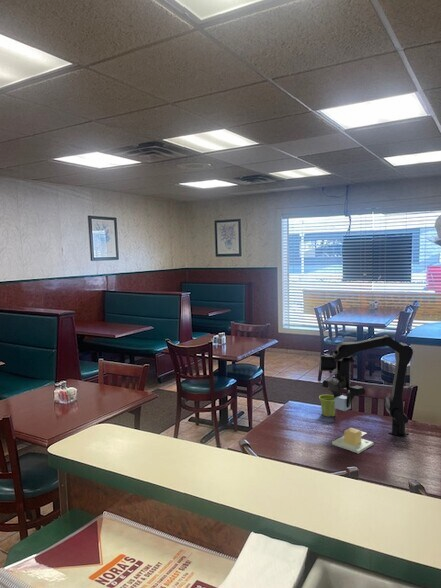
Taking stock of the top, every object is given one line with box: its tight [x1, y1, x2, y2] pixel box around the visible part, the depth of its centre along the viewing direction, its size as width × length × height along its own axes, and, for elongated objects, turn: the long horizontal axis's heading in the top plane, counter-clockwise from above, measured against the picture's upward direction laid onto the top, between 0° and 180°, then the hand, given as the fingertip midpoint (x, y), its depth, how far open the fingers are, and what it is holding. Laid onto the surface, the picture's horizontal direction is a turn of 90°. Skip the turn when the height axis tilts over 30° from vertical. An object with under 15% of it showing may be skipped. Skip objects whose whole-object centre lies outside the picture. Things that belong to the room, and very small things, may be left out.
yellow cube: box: [343, 427, 363, 446], centre depth 180 cm, size 5×5×5 cm
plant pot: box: [318, 394, 336, 418], centre depth 214 cm, size 9×9×9 cm
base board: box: [331, 435, 374, 455], centre depth 180 cm, size 12×12×1 cm
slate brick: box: [335, 394, 352, 412], centre depth 193 cm, size 5×5×5 cm
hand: (342, 405), depth 193 cm, fingers closed on slate brick, 5 cm apart
